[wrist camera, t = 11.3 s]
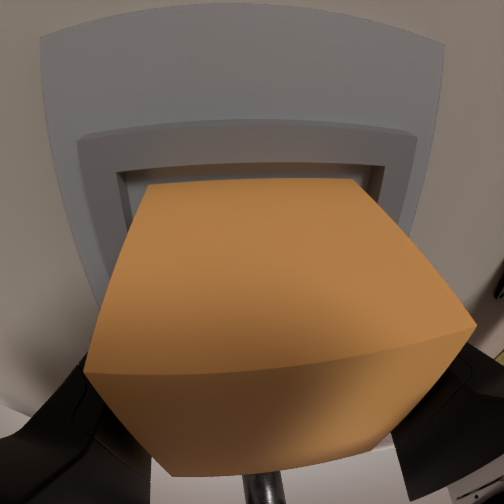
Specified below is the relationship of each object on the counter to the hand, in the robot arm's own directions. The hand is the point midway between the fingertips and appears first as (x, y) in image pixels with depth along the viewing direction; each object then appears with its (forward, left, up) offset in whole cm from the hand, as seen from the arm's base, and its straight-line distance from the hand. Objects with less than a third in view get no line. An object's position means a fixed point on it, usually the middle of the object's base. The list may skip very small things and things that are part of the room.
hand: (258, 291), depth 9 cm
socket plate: (0, +2, -2) cm, 3 cm away
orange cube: (0, 0, -1) cm, 1 cm away
